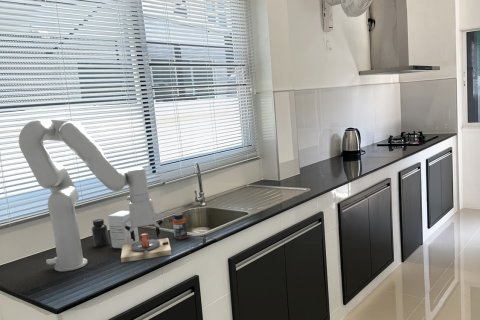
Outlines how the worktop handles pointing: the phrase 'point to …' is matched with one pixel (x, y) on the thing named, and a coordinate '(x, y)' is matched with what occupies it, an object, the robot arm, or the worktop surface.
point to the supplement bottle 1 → (100, 233)
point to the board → (145, 251)
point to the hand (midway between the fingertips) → (146, 238)
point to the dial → (145, 243)
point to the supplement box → (121, 230)
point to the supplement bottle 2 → (179, 226)
